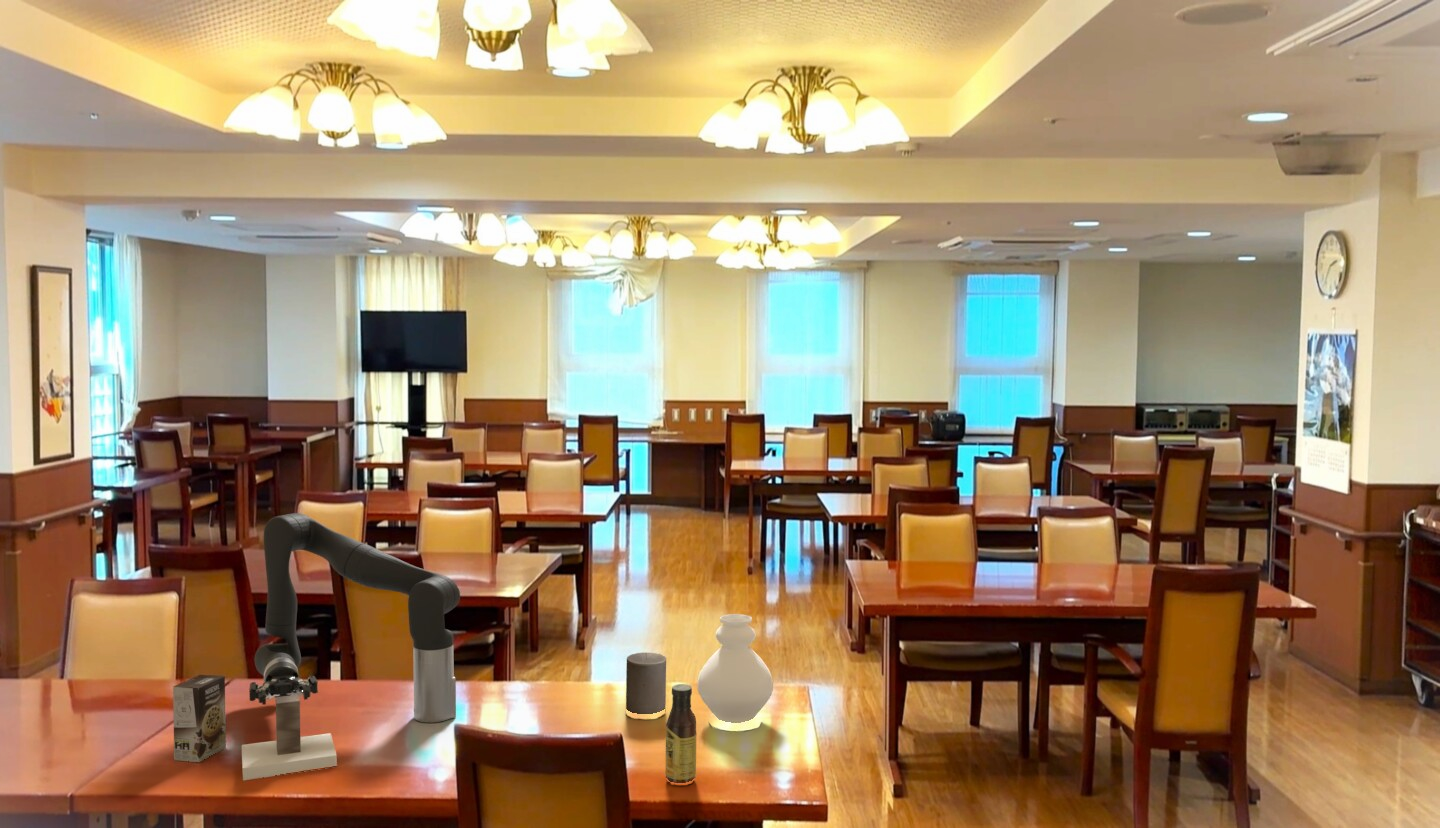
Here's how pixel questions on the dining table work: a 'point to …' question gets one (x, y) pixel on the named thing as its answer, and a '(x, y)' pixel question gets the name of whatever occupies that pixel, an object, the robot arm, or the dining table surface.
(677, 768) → the sauce bottle
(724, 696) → the decorative vase
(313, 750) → the base
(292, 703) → the column
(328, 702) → the dining table surface
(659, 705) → the pillar candle
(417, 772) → the dining table surface
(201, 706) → the coffee box
